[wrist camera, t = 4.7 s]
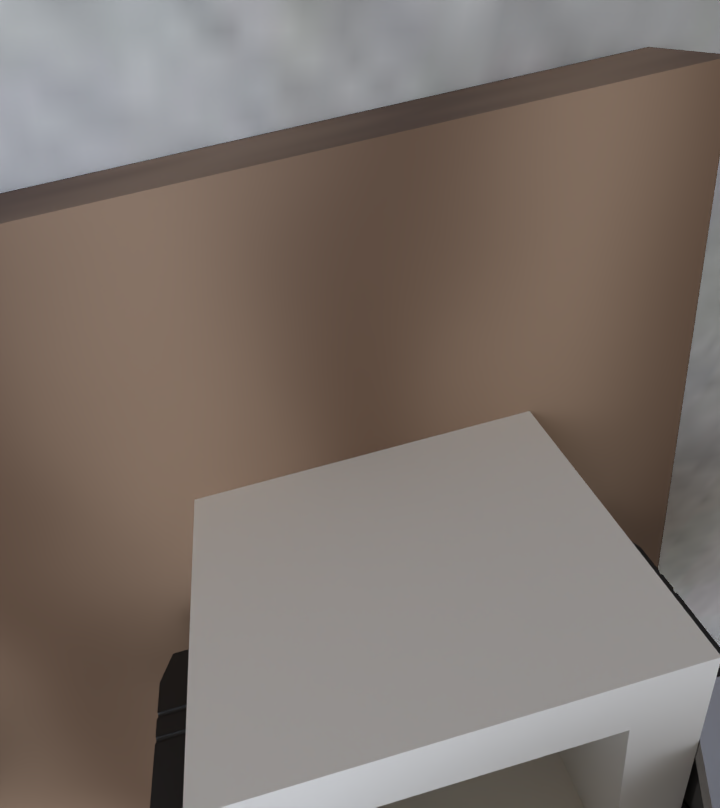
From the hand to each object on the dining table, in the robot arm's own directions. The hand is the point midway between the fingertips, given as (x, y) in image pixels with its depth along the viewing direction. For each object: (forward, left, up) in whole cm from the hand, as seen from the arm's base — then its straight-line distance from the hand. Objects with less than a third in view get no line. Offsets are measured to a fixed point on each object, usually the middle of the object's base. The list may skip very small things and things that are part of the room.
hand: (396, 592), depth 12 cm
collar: (0, 0, -1) cm, 1 cm away
